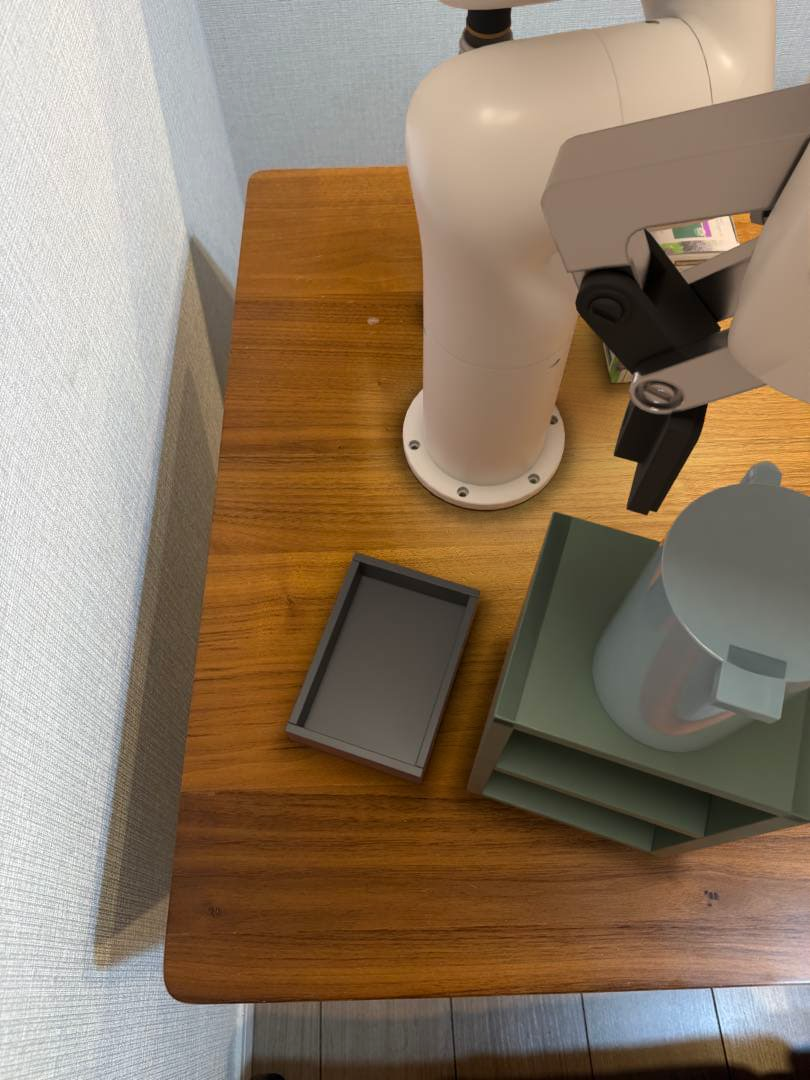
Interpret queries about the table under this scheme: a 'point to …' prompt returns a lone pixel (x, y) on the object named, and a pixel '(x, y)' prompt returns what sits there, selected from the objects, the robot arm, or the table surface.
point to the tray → (384, 667)
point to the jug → (714, 620)
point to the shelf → (599, 744)
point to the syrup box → (684, 262)
